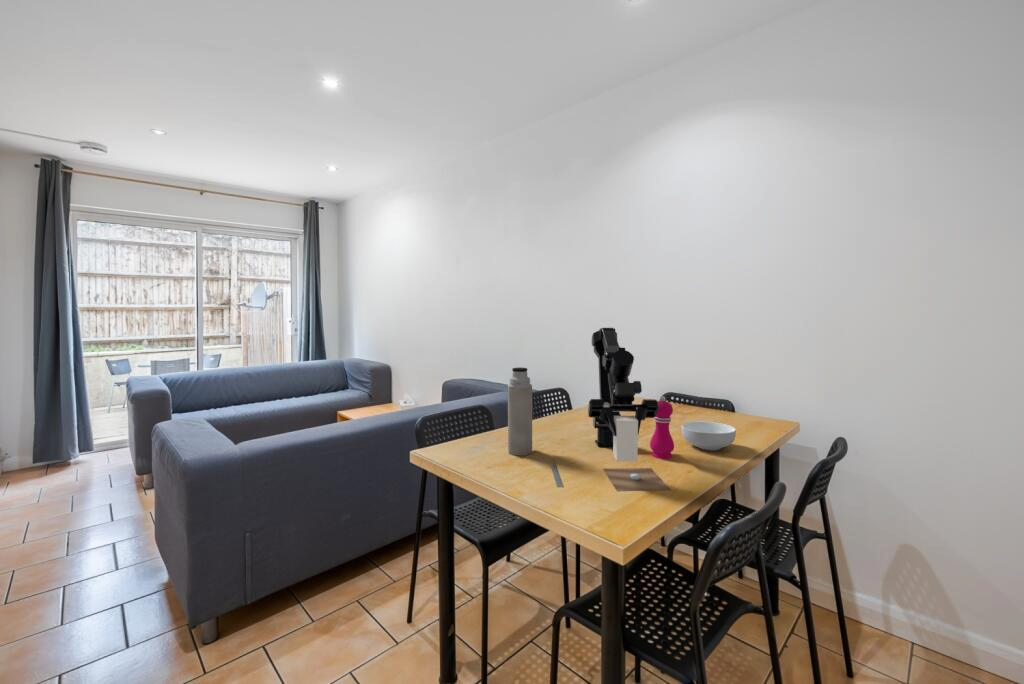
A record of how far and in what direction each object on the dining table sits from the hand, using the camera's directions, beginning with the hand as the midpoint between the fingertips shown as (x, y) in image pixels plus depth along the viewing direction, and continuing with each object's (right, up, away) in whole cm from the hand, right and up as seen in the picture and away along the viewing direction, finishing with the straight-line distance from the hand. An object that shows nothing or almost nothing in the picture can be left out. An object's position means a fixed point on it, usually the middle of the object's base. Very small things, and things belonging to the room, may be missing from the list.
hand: (626, 435), depth 121 cm
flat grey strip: (-12, -13, +7) cm, 19 cm away
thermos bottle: (-28, -12, +29) cm, 42 cm away
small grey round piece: (+3, -12, +2) cm, 13 cm away
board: (+3, -13, +2) cm, 14 cm away
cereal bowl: (+36, -11, +34) cm, 51 cm away
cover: (0, -6, +2) cm, 7 cm away
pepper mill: (+16, -12, +21) cm, 29 cm away
